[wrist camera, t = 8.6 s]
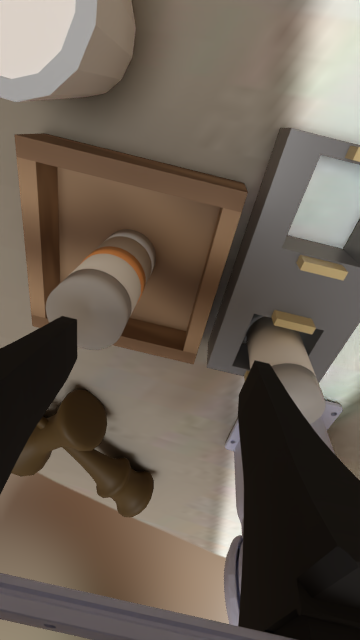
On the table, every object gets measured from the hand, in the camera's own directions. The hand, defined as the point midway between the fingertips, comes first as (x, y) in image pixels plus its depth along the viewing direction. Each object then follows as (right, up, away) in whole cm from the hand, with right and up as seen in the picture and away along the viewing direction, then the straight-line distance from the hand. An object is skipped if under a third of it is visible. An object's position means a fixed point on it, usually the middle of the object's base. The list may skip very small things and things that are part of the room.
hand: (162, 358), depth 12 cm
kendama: (-9, -10, +21) cm, 25 cm away
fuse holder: (+8, +5, +8) cm, 13 cm away
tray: (-3, +6, +9) cm, 11 cm away
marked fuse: (-3, +6, +8) cm, 10 cm away
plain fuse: (+8, +1, +11) cm, 13 cm away
